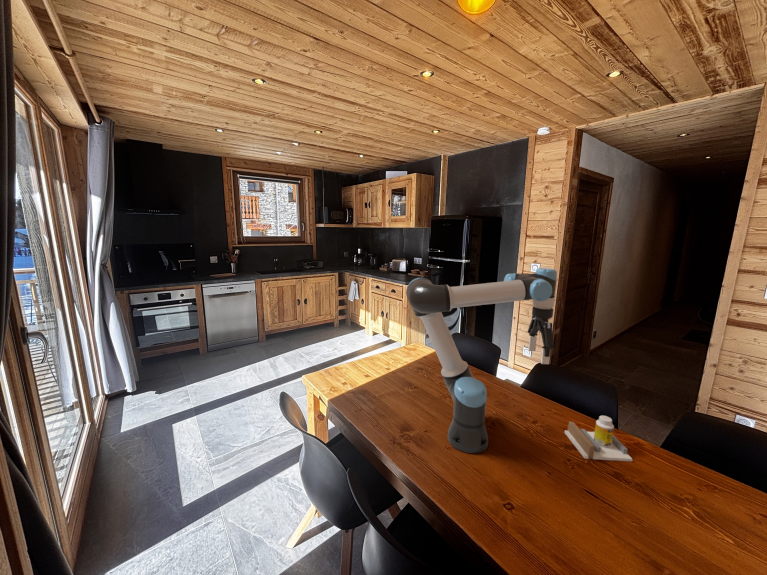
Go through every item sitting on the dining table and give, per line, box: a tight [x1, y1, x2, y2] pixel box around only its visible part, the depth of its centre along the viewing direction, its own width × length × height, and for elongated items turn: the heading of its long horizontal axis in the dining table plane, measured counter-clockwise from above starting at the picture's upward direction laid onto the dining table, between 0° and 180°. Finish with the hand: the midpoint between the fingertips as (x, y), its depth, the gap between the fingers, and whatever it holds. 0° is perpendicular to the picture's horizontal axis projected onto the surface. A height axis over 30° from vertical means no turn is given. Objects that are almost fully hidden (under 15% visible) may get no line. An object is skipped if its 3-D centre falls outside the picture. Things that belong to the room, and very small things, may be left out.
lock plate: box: [564, 421, 633, 462], centre depth 119 cm, size 16×15×5 cm
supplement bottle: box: [594, 415, 615, 447], centre depth 119 cm, size 6×6×10 cm
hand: (538, 357), depth 131 cm, fingers open, 13 cm apart
